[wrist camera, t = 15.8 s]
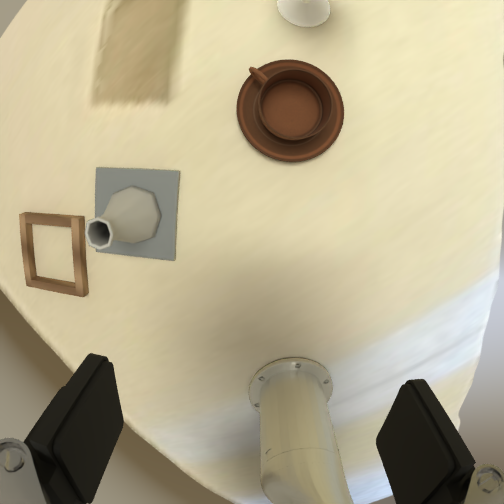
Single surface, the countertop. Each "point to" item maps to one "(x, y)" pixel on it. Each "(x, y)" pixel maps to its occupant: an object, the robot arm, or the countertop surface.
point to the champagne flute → (304, 11)
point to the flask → (125, 219)
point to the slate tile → (167, 200)
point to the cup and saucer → (290, 110)
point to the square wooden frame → (77, 245)
